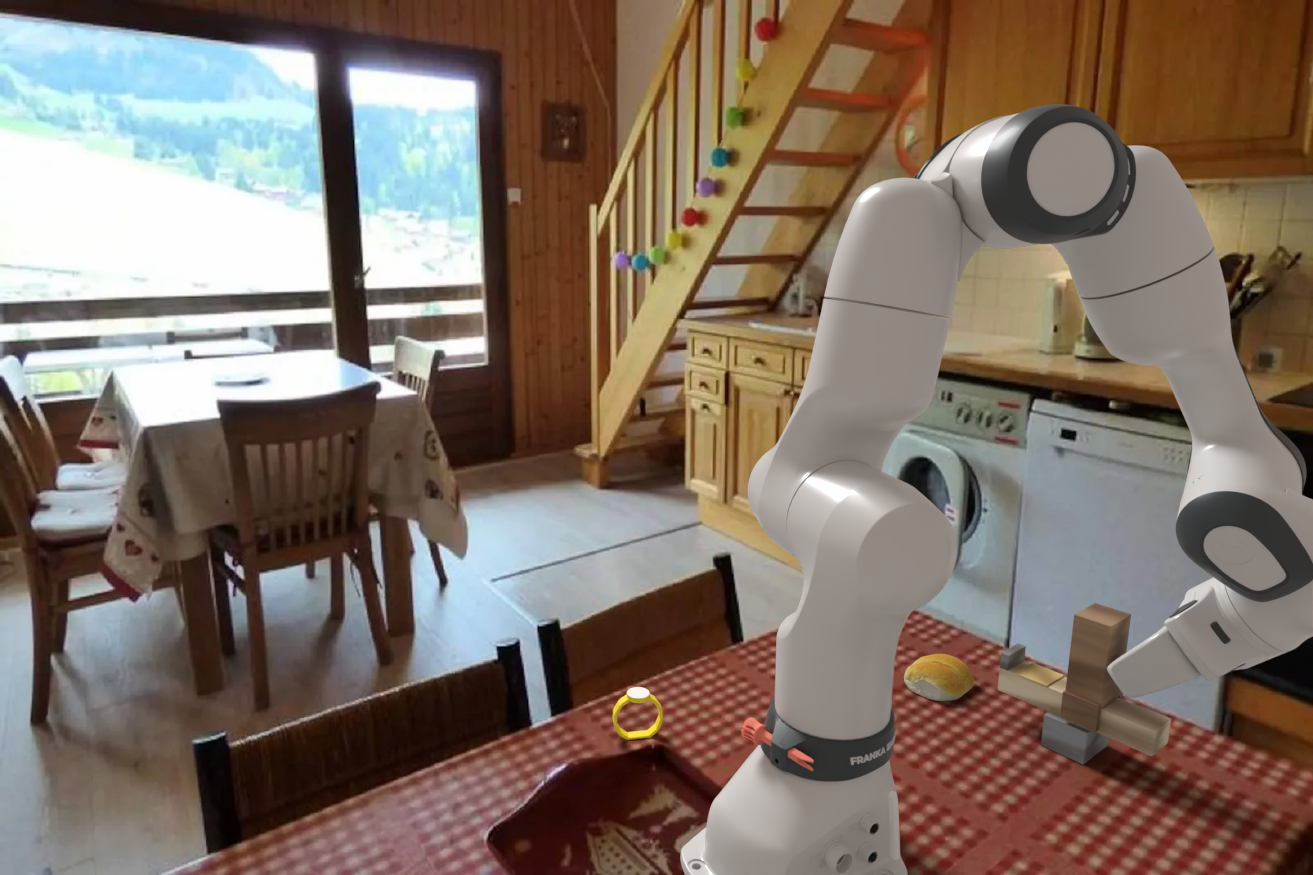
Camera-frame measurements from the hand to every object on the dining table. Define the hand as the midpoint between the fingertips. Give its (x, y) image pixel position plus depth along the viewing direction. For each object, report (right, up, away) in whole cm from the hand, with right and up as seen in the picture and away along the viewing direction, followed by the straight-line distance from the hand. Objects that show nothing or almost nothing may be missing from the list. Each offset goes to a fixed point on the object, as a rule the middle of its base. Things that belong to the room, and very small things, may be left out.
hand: (1120, 672), depth 96 cm
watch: (-54, -10, +8) cm, 56 cm away
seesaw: (-2, -10, +6) cm, 12 cm away
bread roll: (-14, -7, +19) cm, 25 cm away
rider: (-1, -6, +4) cm, 7 cm away
